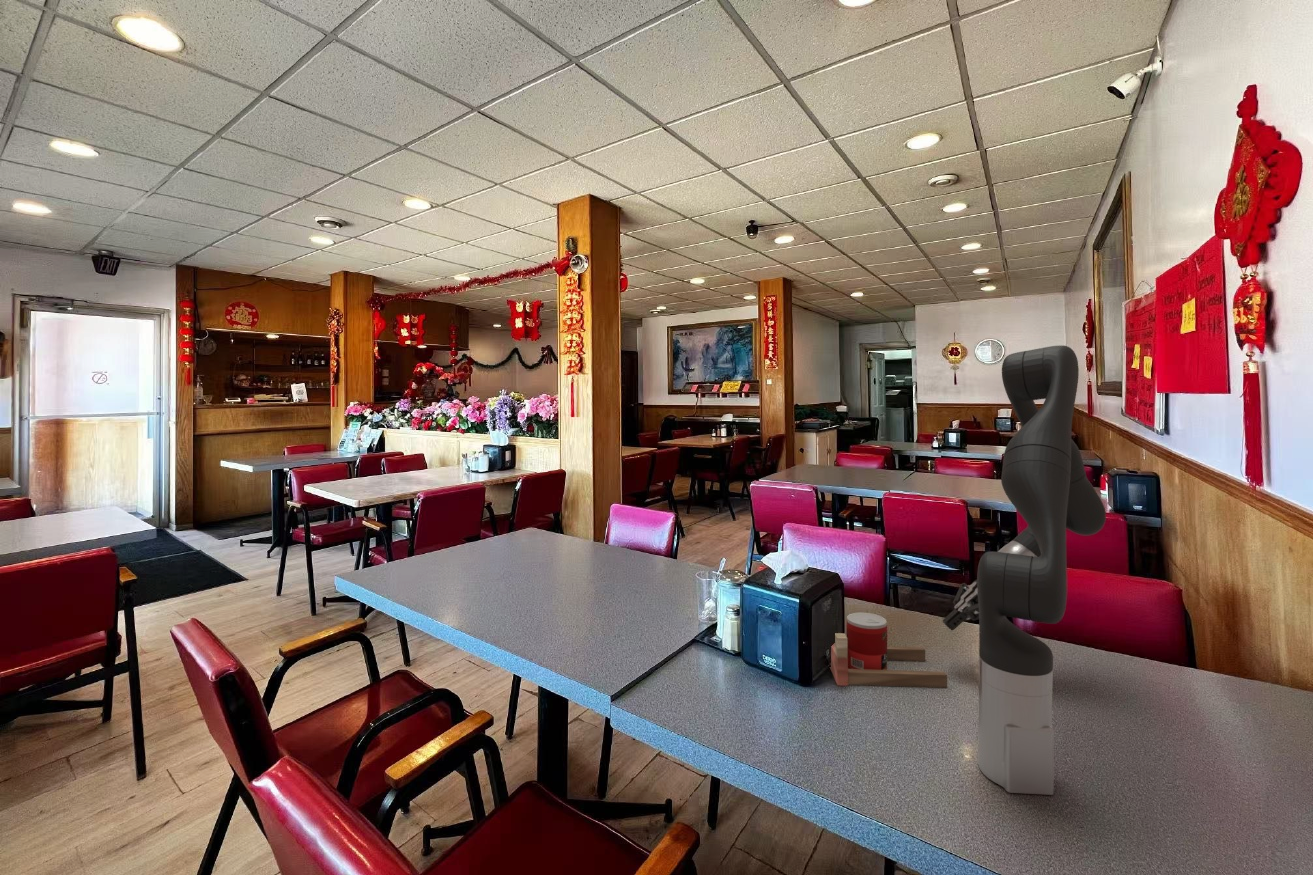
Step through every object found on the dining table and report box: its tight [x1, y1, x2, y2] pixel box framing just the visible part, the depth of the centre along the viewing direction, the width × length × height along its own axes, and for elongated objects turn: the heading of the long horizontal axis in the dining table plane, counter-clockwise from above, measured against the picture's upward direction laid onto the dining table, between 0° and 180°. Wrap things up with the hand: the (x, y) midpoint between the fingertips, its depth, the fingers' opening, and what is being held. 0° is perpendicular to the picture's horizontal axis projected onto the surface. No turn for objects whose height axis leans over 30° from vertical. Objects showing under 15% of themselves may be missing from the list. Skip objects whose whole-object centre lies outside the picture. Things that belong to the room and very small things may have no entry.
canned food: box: [845, 612, 888, 670], centre depth 117 cm, size 8×8×11 cm
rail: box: [829, 632, 948, 689], centre depth 117 cm, size 14×21×10 cm, turn 84°
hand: (946, 626), depth 115 cm, fingers closed
